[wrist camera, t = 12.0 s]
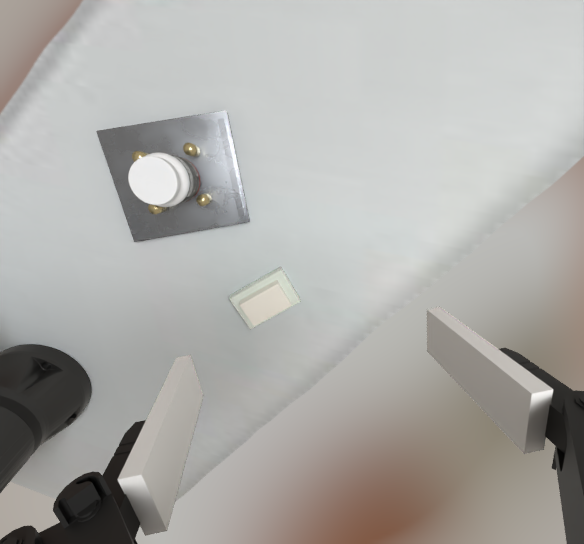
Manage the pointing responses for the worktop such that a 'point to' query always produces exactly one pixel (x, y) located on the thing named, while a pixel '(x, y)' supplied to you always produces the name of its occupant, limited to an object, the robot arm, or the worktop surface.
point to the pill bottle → (164, 179)
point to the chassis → (195, 148)
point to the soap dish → (260, 284)
